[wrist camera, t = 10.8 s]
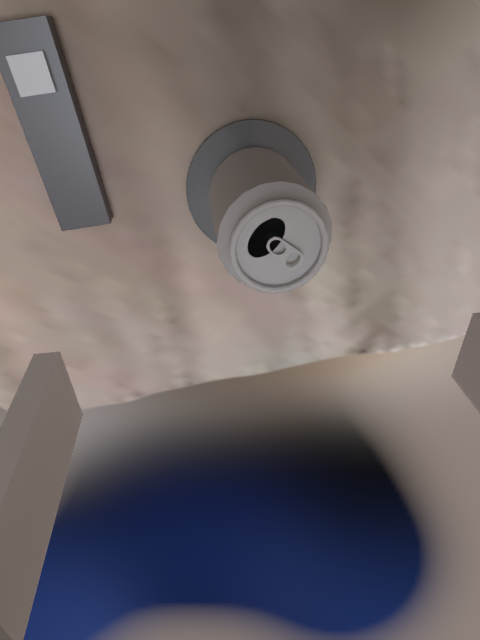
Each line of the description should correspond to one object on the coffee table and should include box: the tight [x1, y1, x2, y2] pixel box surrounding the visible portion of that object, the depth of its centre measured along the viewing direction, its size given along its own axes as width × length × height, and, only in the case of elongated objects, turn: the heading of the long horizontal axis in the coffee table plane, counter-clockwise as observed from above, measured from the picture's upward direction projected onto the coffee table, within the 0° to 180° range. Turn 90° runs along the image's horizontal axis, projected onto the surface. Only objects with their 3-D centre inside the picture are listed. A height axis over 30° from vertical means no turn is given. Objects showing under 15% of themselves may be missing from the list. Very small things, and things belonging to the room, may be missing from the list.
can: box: [209, 147, 332, 293], centre depth 31 cm, size 8×8×12 cm
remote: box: [0, 16, 113, 231], centre depth 31 cm, size 14×4×2 cm, turn 7°
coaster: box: [187, 119, 316, 243], centre depth 36 cm, size 11×11×1 cm
